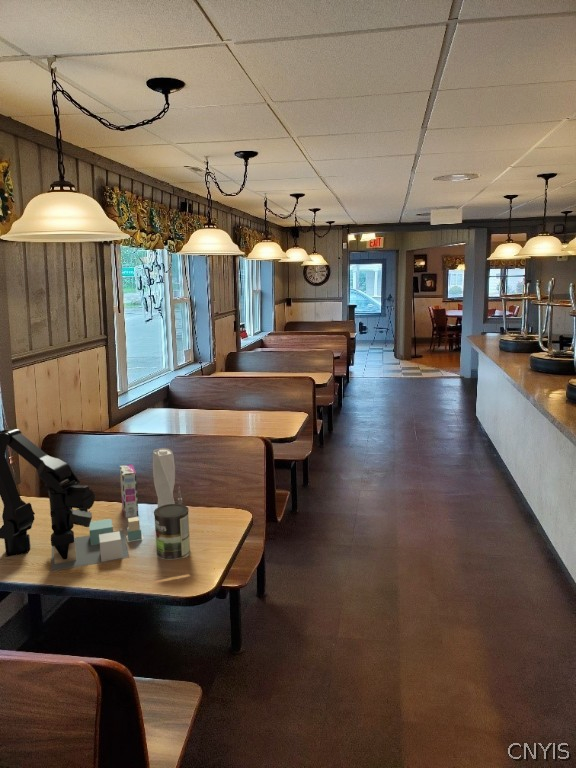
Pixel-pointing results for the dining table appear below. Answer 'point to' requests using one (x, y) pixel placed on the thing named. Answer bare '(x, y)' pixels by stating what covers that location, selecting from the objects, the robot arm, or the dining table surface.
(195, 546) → the dining table surface
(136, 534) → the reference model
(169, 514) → the coffee can
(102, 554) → the grey cube
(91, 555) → the charcoal mat
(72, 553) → the oak cube
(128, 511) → the candy bar box
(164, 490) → the skyscraper
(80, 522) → the robot arm
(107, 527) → the teal block
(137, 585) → the dining table surface
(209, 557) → the dining table surface
